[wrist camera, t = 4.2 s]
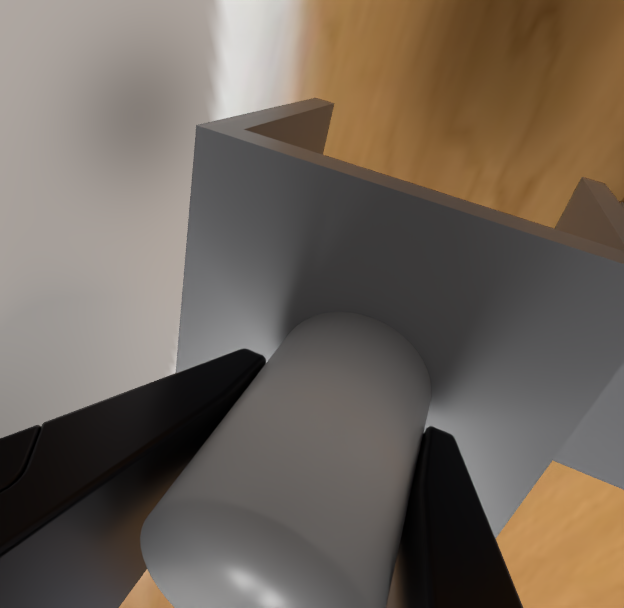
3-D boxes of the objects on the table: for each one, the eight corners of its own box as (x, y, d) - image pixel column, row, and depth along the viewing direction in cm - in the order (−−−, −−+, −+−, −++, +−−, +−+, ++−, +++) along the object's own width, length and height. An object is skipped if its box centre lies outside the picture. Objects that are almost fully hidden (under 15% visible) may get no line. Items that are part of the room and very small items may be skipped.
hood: (269, 323, 16) (23, 603, 8) (316, 98, 12) (-64, 185, 4) (479, 408, 14) (448, 853, 6) (604, 183, 11) (903, 571, 3)
